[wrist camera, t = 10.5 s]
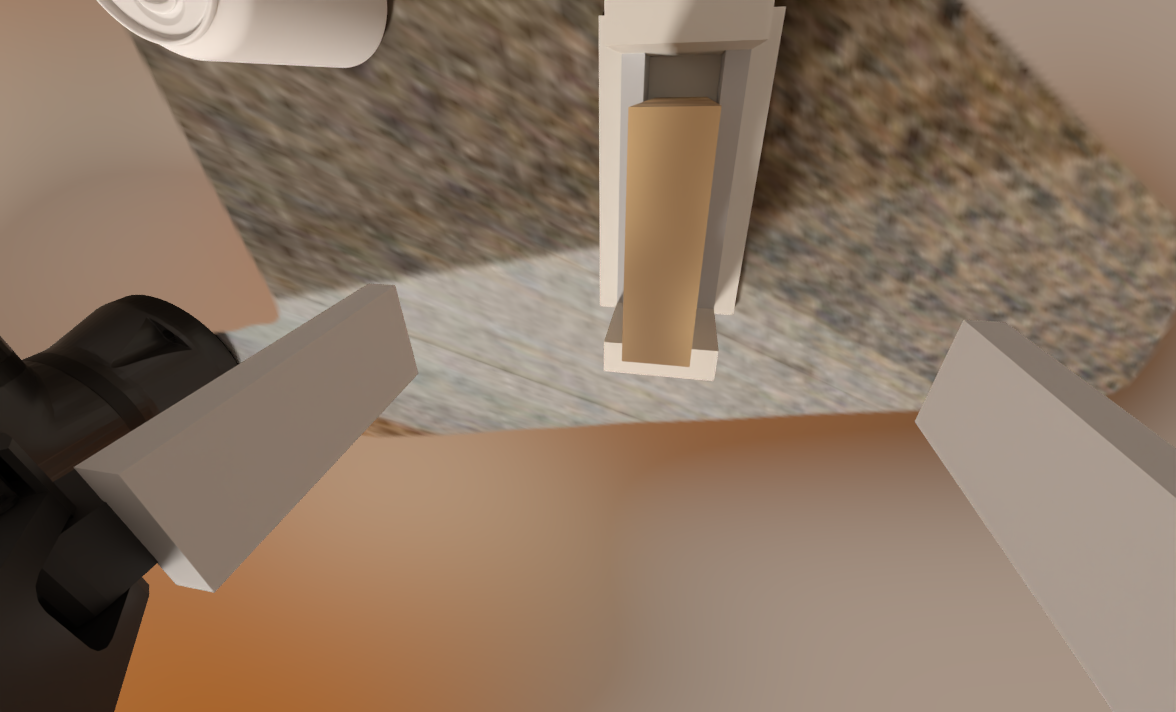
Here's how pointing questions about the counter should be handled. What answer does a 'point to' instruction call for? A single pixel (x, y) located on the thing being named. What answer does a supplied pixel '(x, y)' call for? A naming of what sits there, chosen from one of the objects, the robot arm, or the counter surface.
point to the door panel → (666, 224)
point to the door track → (743, 89)
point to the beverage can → (259, 29)
